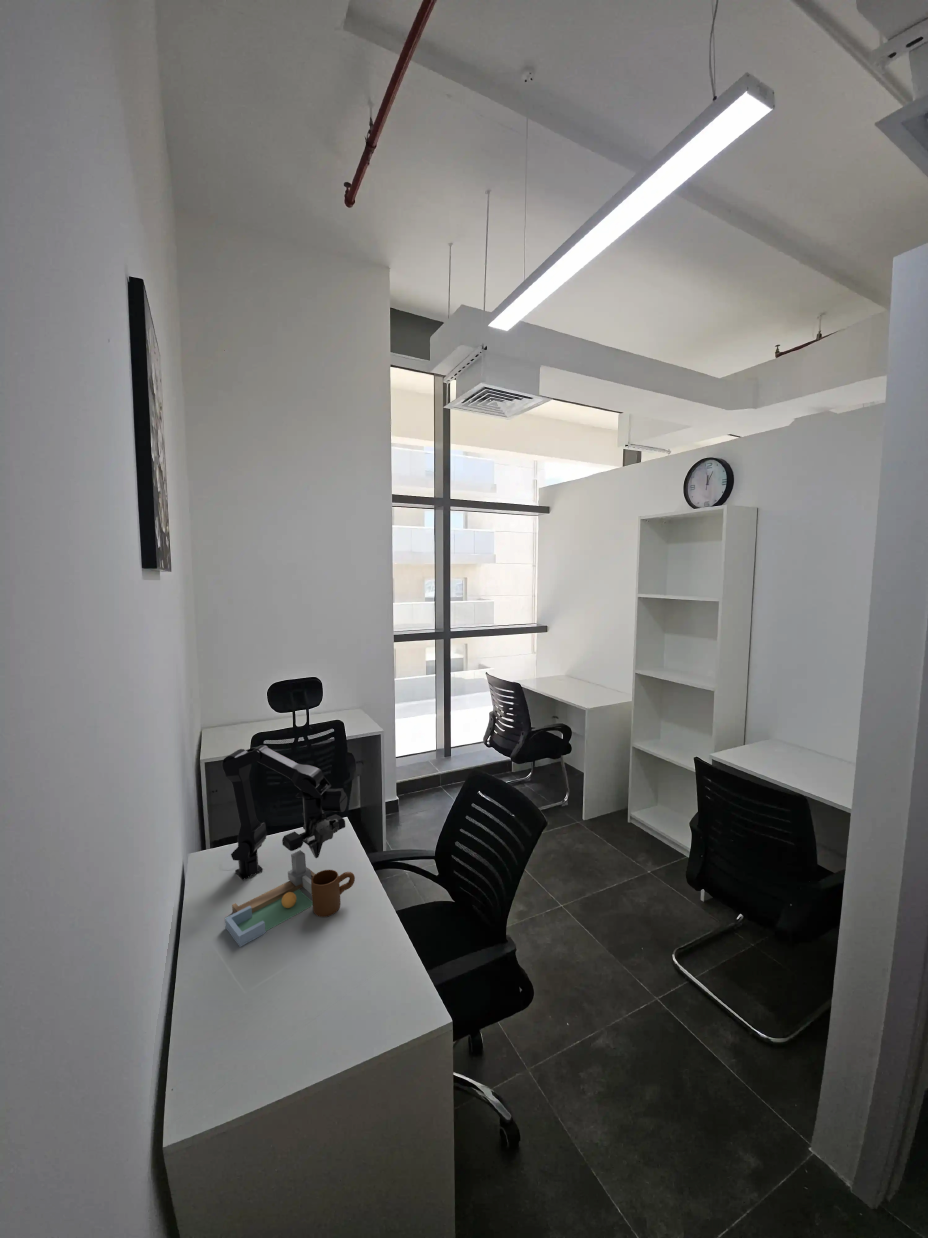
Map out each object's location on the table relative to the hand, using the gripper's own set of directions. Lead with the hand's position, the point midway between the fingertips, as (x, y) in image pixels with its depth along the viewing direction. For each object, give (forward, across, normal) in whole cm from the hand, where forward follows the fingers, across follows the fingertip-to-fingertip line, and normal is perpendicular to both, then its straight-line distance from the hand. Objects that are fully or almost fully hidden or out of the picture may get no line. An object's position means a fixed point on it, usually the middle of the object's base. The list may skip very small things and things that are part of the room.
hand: (316, 857), depth 152 cm
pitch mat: (+6, -18, -7) cm, 20 cm away
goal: (+6, -25, -8) cm, 27 cm away
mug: (+6, -4, -17) cm, 19 cm away
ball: (+6, -13, -8) cm, 16 cm away
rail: (+6, -13, 0) cm, 15 cm away
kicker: (+5, -6, -4) cm, 9 cm away
